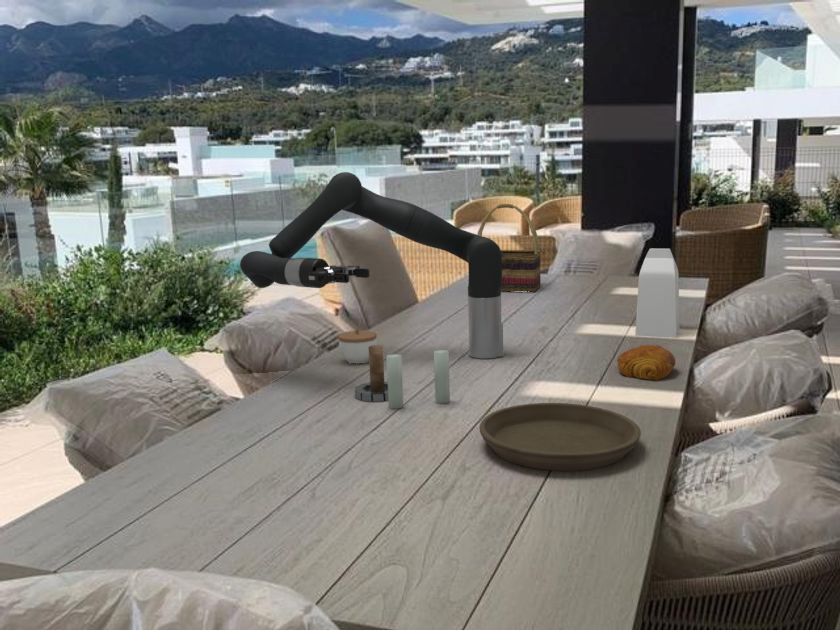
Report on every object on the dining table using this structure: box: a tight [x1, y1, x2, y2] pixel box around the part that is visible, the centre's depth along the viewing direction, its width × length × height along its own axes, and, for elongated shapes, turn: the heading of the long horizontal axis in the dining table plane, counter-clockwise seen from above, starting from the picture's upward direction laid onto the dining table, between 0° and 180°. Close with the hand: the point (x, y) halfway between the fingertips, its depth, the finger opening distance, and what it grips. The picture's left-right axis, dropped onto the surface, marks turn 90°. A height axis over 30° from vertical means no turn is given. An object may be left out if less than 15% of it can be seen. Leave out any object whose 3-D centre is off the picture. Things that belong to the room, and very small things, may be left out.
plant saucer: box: [478, 402, 642, 472], centre depth 165 cm, size 31×31×5 cm
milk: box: [634, 248, 681, 339], centre depth 257 cm, size 12×12×26 cm
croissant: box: [616, 344, 676, 381], centre depth 215 cm, size 14×16×8 cm
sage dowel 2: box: [433, 349, 451, 405], centre depth 196 cm, size 3×3×12 cm
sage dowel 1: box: [386, 353, 404, 410], centre depth 193 cm, size 3×3×12 cm
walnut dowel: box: [368, 344, 385, 392], centre depth 203 cm, size 3×3×12 cm
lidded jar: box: [337, 328, 377, 365], centre depth 236 cm, size 11×11×9 cm
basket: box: [476, 203, 542, 293], centre depth 342 cm, size 26×15×35 cm, turn 72°
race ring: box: [354, 380, 388, 403], centre depth 204 cm, size 11×11×2 cm
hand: (358, 275), depth 207 cm, fingers open, 8 cm apart
